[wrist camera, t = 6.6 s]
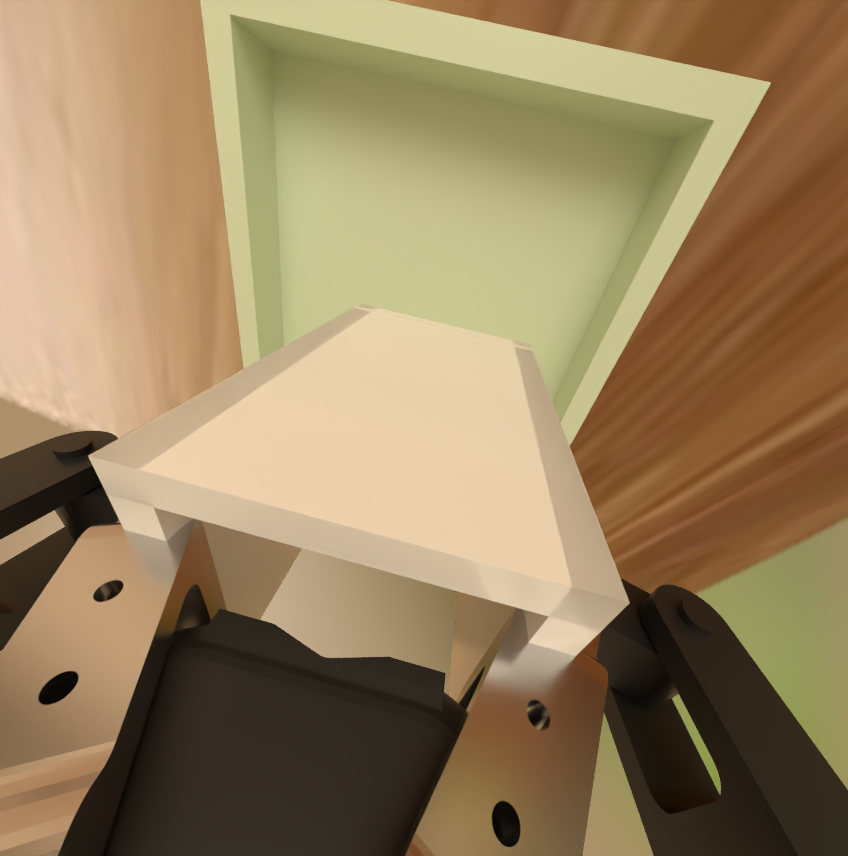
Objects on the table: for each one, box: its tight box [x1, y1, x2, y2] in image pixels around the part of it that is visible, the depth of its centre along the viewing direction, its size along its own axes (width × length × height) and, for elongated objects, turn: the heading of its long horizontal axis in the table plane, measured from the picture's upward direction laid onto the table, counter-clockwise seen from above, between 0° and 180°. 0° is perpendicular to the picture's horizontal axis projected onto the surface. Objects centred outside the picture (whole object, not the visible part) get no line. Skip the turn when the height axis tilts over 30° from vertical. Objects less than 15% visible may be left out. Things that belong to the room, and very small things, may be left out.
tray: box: [200, 0, 771, 447], centre depth 17 cm, size 18×22×3 cm
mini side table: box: [88, 304, 630, 701], centre depth 9 cm, size 6×6×9 cm
